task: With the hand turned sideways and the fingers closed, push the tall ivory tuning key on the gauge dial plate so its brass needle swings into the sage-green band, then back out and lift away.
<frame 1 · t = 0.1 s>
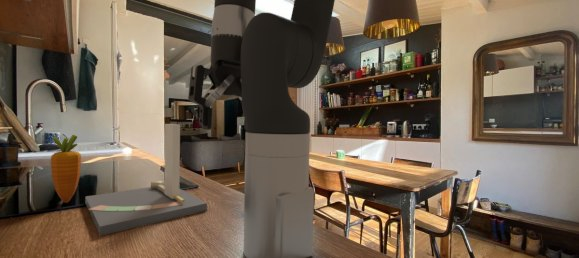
hand: (228, 129, 46), 17 cm above the kitchen counter, tool pointing down, fingers open, 8 cm apart
gauge dial plate: (144, 206, 54), on the kitchen counter
carrot: (66, 203, 55), on the kitchen counter
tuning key: (168, 158, 58), point 10 cm above the kitchen counter, hinge at 0.0°
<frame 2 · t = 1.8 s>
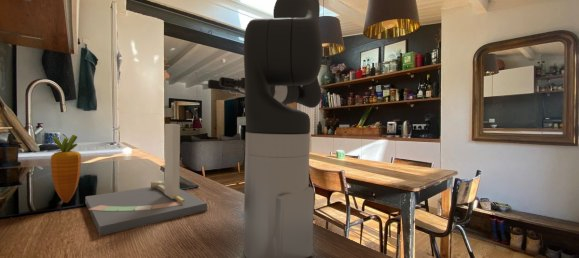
hand: (214, 82, 61), 28 cm above the kitchen counter, tool horizontal, fingers open, 5 cm apart
nothing on the kitchen counter moved.
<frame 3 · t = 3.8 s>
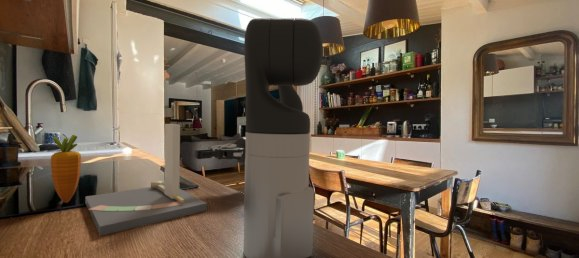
hand: (196, 154, 61), 10 cm above the kitchen counter, tool horizontal, fingers closed
nothing on the kitchen counter moved.
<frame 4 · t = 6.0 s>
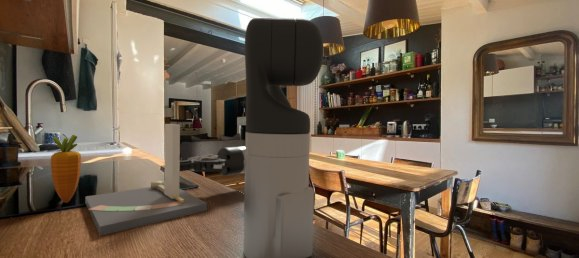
hand: (172, 166, 58), 8 cm above the kitchen counter, tool horizontal, fingers closed
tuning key: (168, 158, 58), point 10 cm above the kitchen counter, hinge at 0.1°, touching gripper
everything else where it was.
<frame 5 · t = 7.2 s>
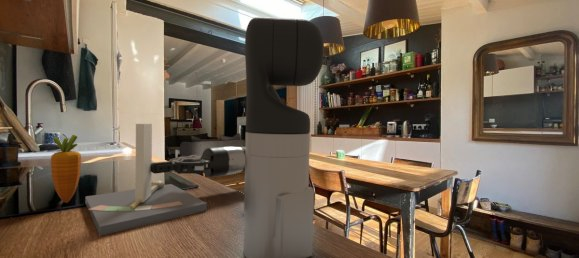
hand: (151, 168, 55), 8 cm above the kitchen counter, tool horizontal, fingers closed
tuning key: (147, 159, 56), point 10 cm above the kitchen counter, hinge at 31.4°, touching gripper
everything else where it was.
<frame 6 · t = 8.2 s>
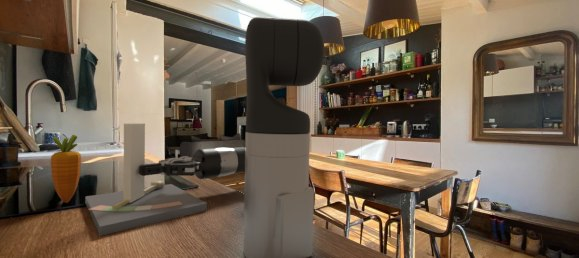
hand: (140, 170, 53), 8 cm above the kitchen counter, tool horizontal, fingers closed
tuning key: (141, 159, 56), point 10 cm above the kitchen counter, hinge at 42.1°, touching gripper
everything else where it was.
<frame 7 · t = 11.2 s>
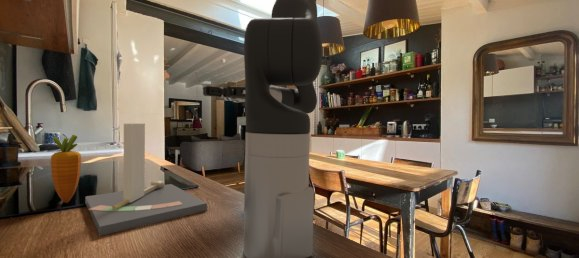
hand: (204, 90, 59), 26 cm above the kitchen counter, tool horizontal, fingers closed
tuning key: (141, 159, 56), point 10 cm above the kitchen counter, hinge at 42.2°
everything else where it was.
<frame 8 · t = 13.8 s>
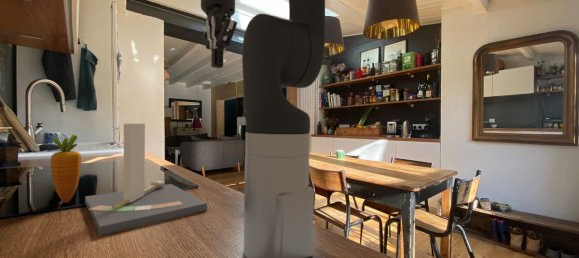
hand: (217, 67, 57), 31 cm above the kitchen counter, tool pointing down, fingers closed
nothing on the kitchen counter moved.
at the end: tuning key at +42° (first picture: +0°); carrot moved 0.2 cm from its start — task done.
